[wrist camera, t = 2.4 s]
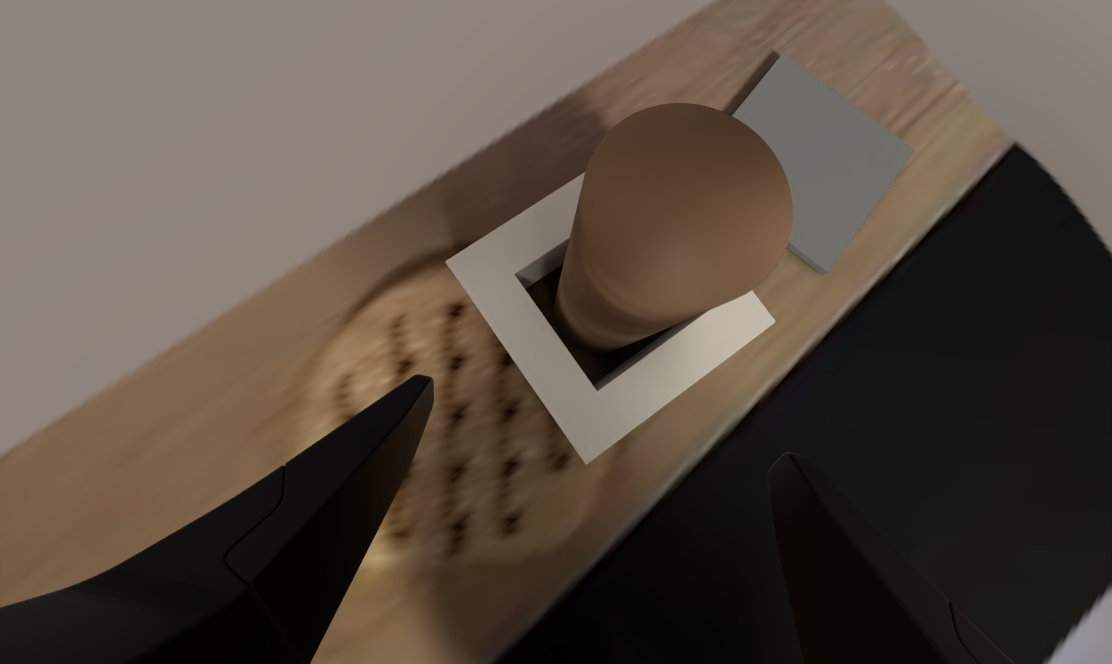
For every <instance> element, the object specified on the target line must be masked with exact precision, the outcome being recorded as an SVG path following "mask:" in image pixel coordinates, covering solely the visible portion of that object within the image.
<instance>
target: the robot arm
mask: <svg viewBox="0 0 1112 664" xmlns="http://www.w3.org/2000/svg"><path fill="white" fill-rule="evenodd" d="M433 402H434V382H433V378H431V377H429V376H424V375H419V374H417V375H414V376H413V377H411V378H410V379H408V380H407V381H405V382H404V383H402V384H401V385H399V386H398V387H397V388H395V389H394V390H392V391H391V392H389V393H388V394H386V395H385V396H383V397H382V398H380V399H379V400H377V401H376V402H375V403H373V404H372V405H370V406H369V407H367V408H366V409H364V410H363V411H361V412H360V413H358V414H357V415H355V416H354V417H353V418H351V419H350V420H348V421H347V422H345V423H344V424H342V425H341V426H339V427H338V428H336V429H335V430H333V431H332V432H331V433H329V434H328V435H326V436H325V437H323V438H322V439H320V440H319V441H317V442H316V443H314V444H313V445H312V446H310V447H309V448H307V449H306V450H304V451H303V452H301V453H300V454H298V455H297V456H295V457H294V458H292V459H291V460H290V461H288V462H287V463H286V464H285V466H280V467H279V468H278V469H276V470H275V471H273V472H272V473H270V474H269V475H267V476H266V477H264V478H263V479H261V480H260V481H258V482H257V483H255V484H254V485H252V486H251V487H249V488H247V489H246V490H244V491H243V492H241V493H240V494H238V495H237V496H235V497H233V498H232V499H230V500H228V501H227V502H225V503H223V504H222V505H220V506H218V507H217V508H215V509H213V510H212V511H210V512H208V513H207V514H205V515H203V516H202V517H200V518H198V519H196V520H195V521H193V522H191V523H189V524H188V525H186V526H184V527H183V528H181V529H179V530H177V531H176V532H174V533H172V534H170V535H169V536H167V537H165V538H164V539H162V540H160V541H158V542H157V543H155V544H153V545H151V546H150V547H148V548H146V549H145V550H143V551H141V552H139V553H138V554H136V555H134V556H132V557H131V558H129V559H127V560H125V561H124V562H122V563H120V564H118V565H116V566H114V567H113V568H111V569H109V570H107V571H105V572H102V573H100V574H98V575H96V576H94V577H92V578H89V579H87V580H85V581H82V582H80V583H78V584H75V585H72V586H70V587H67V588H64V589H61V590H58V591H55V592H51V593H48V594H45V595H41V596H38V597H35V598H31V599H28V600H24V601H21V602H18V603H14V604H11V605H7V606H4V607H1V608H0V664H310V663H311V661H312V659H313V657H314V655H315V653H316V651H317V649H318V647H319V645H320V643H321V641H322V639H323V637H324V635H325V633H326V631H327V629H328V627H329V625H330V623H331V621H332V619H333V617H334V615H335V613H336V612H337V610H338V608H339V606H340V604H341V602H342V600H343V598H344V596H345V594H346V592H347V590H348V588H349V586H350V584H351V582H352V580H353V578H354V576H355V574H356V572H357V570H358V568H359V566H360V564H361V562H362V560H363V558H364V556H365V554H366V552H367V551H368V549H369V547H370V545H371V543H372V541H373V539H374V537H375V535H376V533H377V531H378V529H379V527H380V525H381V523H382V521H383V519H384V517H385V515H386V513H387V511H388V509H389V507H390V505H391V503H392V501H393V499H394V497H395V495H396V493H397V492H398V490H399V488H400V486H401V484H402V482H403V480H404V478H405V476H406V474H407V472H408V470H409V468H410V465H411V463H412V461H413V458H414V456H415V453H416V450H417V448H418V445H419V442H420V440H421V437H422V434H423V431H424V429H425V426H426V423H427V421H428V418H429V415H430V413H431V410H432V407H433ZM767 483H768V490H769V498H770V505H771V513H772V520H773V528H774V534H775V540H776V545H777V549H778V553H779V558H780V562H781V566H782V570H783V574H784V579H785V583H786V587H787V591H788V595H789V600H790V604H791V608H792V612H793V616H794V620H795V625H796V629H797V633H798V637H799V641H800V646H801V650H802V654H803V658H804V662H805V664H1014V663H1013V662H1012V661H1011V660H1010V659H1009V658H1008V657H1006V656H1005V655H1004V654H1003V653H1002V652H1001V651H1000V650H999V649H998V648H997V647H996V646H995V645H994V644H993V643H992V642H991V641H990V640H989V639H988V638H987V637H986V636H985V635H984V634H983V633H982V632H980V631H979V630H978V629H977V628H976V627H975V626H974V625H973V624H972V623H971V622H970V621H969V620H968V619H967V618H966V617H965V616H964V615H963V614H962V613H961V612H960V611H959V610H958V609H957V608H956V607H955V606H954V605H953V604H952V603H951V602H948V599H947V598H946V597H945V596H944V595H943V594H942V593H941V592H940V591H939V590H938V589H937V588H936V587H935V586H934V585H933V584H932V583H931V582H930V581H929V580H928V579H927V578H926V577H925V576H924V575H923V574H922V573H921V572H920V571H919V570H918V569H917V568H916V567H915V566H914V565H913V564H912V563H911V562H910V561H909V560H908V559H907V558H906V557H905V556H904V555H903V554H902V553H901V552H900V551H899V550H898V549H897V548H896V547H895V546H894V545H893V544H892V543H891V542H890V541H889V540H888V539H887V538H886V537H885V536H884V535H883V534H882V533H881V532H880V531H879V530H878V529H877V528H876V527H875V526H874V525H873V524H872V523H871V522H870V521H869V520H868V519H867V518H866V517H865V516H864V515H863V514H862V513H861V512H860V511H859V510H858V509H857V508H856V507H855V506H854V505H853V504H852V503H851V502H850V501H849V500H848V499H847V498H846V497H845V496H844V495H843V494H842V493H841V492H840V491H839V490H838V489H837V488H836V487H835V486H834V485H833V484H832V483H831V482H830V481H829V480H828V479H827V478H826V477H825V476H824V475H823V474H822V473H821V472H820V471H819V470H818V469H817V468H816V467H815V466H814V465H813V464H812V463H811V462H810V461H809V460H808V459H807V458H805V457H804V456H802V455H799V454H794V453H790V452H786V453H784V454H782V455H781V457H780V458H779V459H778V460H777V461H776V462H775V463H774V465H773V466H772V467H771V468H770V469H769V471H768V474H767ZM556 657H560V658H561V659H562V660H561V661H560V662H559V663H556V662H554V661H553V659H554V658H556ZM540 664H581V663H580V662H579V661H578V660H577V659H575V658H574V657H573V656H572V655H571V654H570V653H568V652H567V651H566V650H565V649H564V648H562V647H560V646H555V647H553V648H552V649H550V650H549V652H548V653H547V655H546V656H545V657H544V659H543V660H542V662H541V663H540Z"/></svg>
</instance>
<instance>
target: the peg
mask: <svg viewBox="0 0 1112 664" xmlns="http://www.w3.org/2000/svg"><path fill="white" fill-rule="evenodd" d="M792 222H793V203H792V195H791V190H790V187H789V183H788V180H787V177H786V175H785V172H784V170H783V167H782V166H781V164H780V162H779V160H778V158H777V157H776V155H775V154H774V152H773V151H772V150H771V148H770V147H769V146H768V144H767V143H766V142H765V141H764V140H763V139H762V138H761V137H760V136H759V135H758V134H757V133H756V132H755V131H753V130H752V129H751V128H750V127H749V126H747V125H746V124H744V123H743V122H741V121H740V120H738V119H736V118H735V117H733V116H731V115H729V114H727V113H725V112H722V111H719V110H716V109H714V108H710V107H706V106H702V105H696V104H688V103H672V104H664V105H658V106H654V107H650V108H646V109H644V110H641V111H639V112H636V113H634V114H633V115H631V116H629V117H627V118H625V119H624V120H622V121H621V122H620V123H618V124H617V125H616V126H614V127H613V128H612V129H611V130H610V131H609V132H608V133H607V134H606V135H605V136H604V137H603V139H602V140H601V141H600V143H599V144H598V145H597V147H596V149H595V150H594V152H593V154H592V156H591V158H590V160H589V163H588V165H587V168H586V171H585V175H584V179H583V183H582V188H581V192H580V196H579V200H578V205H577V209H576V213H575V217H574V221H573V226H572V230H571V234H570V238H569V243H568V247H567V251H566V255H565V260H564V264H563V268H562V272H561V277H560V281H559V285H558V289H557V293H556V298H555V303H554V314H555V319H556V322H557V325H558V327H559V329H560V331H561V333H562V334H563V336H564V337H565V338H566V339H567V340H568V341H569V342H570V343H571V344H573V345H574V346H576V347H578V348H579V349H582V350H584V351H587V352H592V353H607V352H611V351H614V350H617V349H619V348H622V347H624V346H626V345H629V344H631V343H633V342H636V341H638V340H641V339H643V338H645V337H648V336H650V335H652V334H655V333H657V332H659V331H662V330H664V329H666V328H669V327H671V326H674V325H676V324H678V323H681V322H683V321H685V320H688V319H690V318H692V317H695V316H697V315H699V314H702V313H704V312H706V311H709V310H711V309H714V308H716V307H718V306H721V305H723V304H725V303H728V302H730V301H732V300H735V299H737V298H739V297H741V296H743V295H745V294H747V293H748V292H750V291H751V290H753V289H754V288H756V287H757V286H758V285H759V284H761V283H762V282H763V281H764V280H765V279H766V278H767V277H768V276H769V275H770V274H771V272H772V271H773V270H774V269H775V268H776V266H777V264H778V263H779V261H780V260H781V258H782V256H783V254H784V252H785V249H786V247H787V245H788V241H789V238H790V234H791V229H792Z"/></svg>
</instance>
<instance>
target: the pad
mask: <svg viewBox="0 0 1112 664" xmlns="http://www.w3.org/2000/svg"><path fill="white" fill-rule="evenodd" d="M732 116H733V117H735V118H736V119H738V120H740V121H741V122H743V123H744V124H746V125H747V126H749V127H750V128H751V129H752V130H753V131H755V132H756V133H757V134H758V135H759V136H760V137H761V138H762V139H763V140H764V141H765V142H766V143H767V144H768V146H769V147H770V148H771V150H772V151H773V152H774V154H775V155H776V157H777V158H778V160H779V162H780V164H781V166H782V167H783V170H784V172H785V175H786V177H787V180H788V183H789V187H790V190H791V195H792V203H793V222H792V229H791V234H790V238H789V241H788V245H787V247H786V248H788V249H789V250H790V251H791V252H793V253H794V254H795V255H797V256H798V257H799V258H801V259H802V260H803V261H804V262H806V263H807V264H808V265H810V266H811V267H812V268H813V269H815V270H816V271H817V272H819V273H820V274H821V275H823V274H826V273H828V272H829V271H830V270H831V268H832V267H833V265H834V264H835V263H836V261H837V260H838V258H839V257H840V255H841V254H842V253H843V251H844V250H845V248H846V247H847V246H848V244H849V243H850V241H851V240H852V238H853V237H854V236H855V234H856V233H857V231H858V230H859V229H860V227H861V226H862V224H863V223H864V222H865V220H866V219H867V217H868V216H869V214H870V213H871V212H872V210H873V209H874V207H875V206H876V205H877V203H878V202H879V200H880V199H881V197H882V196H883V195H884V193H885V192H886V190H887V189H888V188H889V186H890V185H891V183H892V182H893V181H894V179H895V178H896V176H897V175H898V173H899V172H900V171H901V169H902V168H903V166H904V165H905V164H906V162H907V161H908V159H909V158H910V156H911V155H912V154H913V152H914V151H915V150H914V149H912V148H911V147H910V146H908V145H907V144H906V143H904V142H903V141H902V140H900V139H899V138H898V137H896V136H895V135H893V134H892V133H891V132H889V131H888V130H887V129H885V128H884V127H883V126H881V125H880V124H879V123H877V122H876V121H875V120H873V119H872V118H871V117H869V116H868V115H867V114H865V113H864V112H863V111H861V110H860V109H859V108H857V107H856V106H855V105H853V104H852V103H851V102H849V101H848V100H847V99H845V98H844V97H842V96H841V95H840V94H838V93H837V92H836V91H834V90H833V89H832V88H830V87H829V86H828V85H826V84H825V83H824V82H822V81H821V80H820V79H818V78H817V77H816V76H814V75H813V74H812V73H810V72H809V71H808V70H806V69H805V68H804V67H802V66H801V65H800V64H798V63H797V62H795V61H794V60H793V59H791V58H790V57H789V56H787V55H786V54H785V53H783V54H782V55H781V56H780V58H779V59H778V60H777V61H776V63H775V64H774V65H773V66H772V67H771V69H770V70H769V71H768V72H767V74H766V75H765V76H764V77H763V79H762V80H761V81H760V82H759V83H758V85H757V86H756V87H755V88H754V90H753V91H752V92H751V93H750V94H749V96H748V97H747V98H746V99H745V101H744V102H743V103H742V104H741V106H740V107H739V108H738V109H737V110H736V112H735V113H734V114H733V115H732Z"/></svg>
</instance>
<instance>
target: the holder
mask: <svg viewBox="0 0 1112 664" xmlns="http://www.w3.org/2000/svg"><path fill="white" fill-rule="evenodd" d="M584 175H585V172H584V173H583V174H581V175H580V176H578V177H576V178H575V179H573V180H572V181H570V182H569V183H567V184H565V185H564V186H562V187H561V188H559V189H558V190H556V191H554V192H553V193H551V194H550V195H548V196H547V197H545V198H544V199H542V200H540V201H539V202H537V203H536V204H534V205H533V206H531V207H529V208H528V209H526V210H525V211H523V212H522V213H520V214H519V215H517V216H515V217H514V218H512V219H511V220H509V221H508V222H506V223H504V224H503V225H501V226H500V227H498V228H497V229H495V230H494V231H492V232H490V233H489V234H487V235H486V236H484V237H483V238H481V239H479V240H478V241H476V242H475V243H473V244H472V245H470V246H468V247H467V248H465V249H464V250H462V251H461V252H459V253H458V254H456V255H454V256H453V257H451V258H450V259H448V260H447V261H445V262H446V264H447V265H448V267H449V268H450V269H451V271H452V272H453V274H454V275H455V277H456V278H457V280H458V281H459V282H460V284H461V285H462V287H463V288H464V290H465V291H466V293H467V294H468V295H469V297H470V298H471V300H472V301H473V303H474V304H475V306H476V307H477V308H478V310H479V311H480V313H481V314H482V316H483V317H484V319H485V320H486V321H487V323H488V324H489V326H490V327H491V329H492V330H493V332H494V333H495V334H496V336H497V337H498V339H499V340H500V342H501V343H502V345H503V346H504V347H505V349H506V350H507V352H508V353H509V355H510V356H511V358H512V359H513V360H514V362H515V363H516V365H517V366H518V368H519V369H520V370H521V372H522V373H523V375H524V376H525V378H526V379H527V381H528V382H529V383H530V385H531V386H532V388H533V389H534V391H535V392H536V394H537V395H538V396H539V398H540V399H541V401H542V402H543V404H544V405H545V407H546V408H547V409H548V411H549V412H550V414H551V415H552V417H553V418H554V420H555V421H556V422H557V424H558V425H559V427H560V428H561V430H562V431H563V433H564V434H565V435H566V437H567V438H568V440H569V441H570V443H571V444H572V446H573V447H574V448H575V450H576V451H577V453H578V454H579V456H580V457H581V459H582V460H583V461H584V463H585V464H586V465H587V464H588V463H589V462H591V461H592V460H593V459H595V458H596V457H597V456H599V455H600V454H601V453H603V452H604V451H605V450H607V449H608V448H609V447H611V446H612V445H613V444H615V443H616V442H617V441H619V440H620V439H621V438H623V437H624V436H625V435H626V434H628V433H629V432H630V431H632V430H633V429H634V428H636V427H637V426H638V425H640V424H641V423H642V422H644V421H645V420H646V419H648V418H649V417H650V416H652V415H653V414H654V413H656V412H657V411H658V410H660V409H661V408H662V407H664V406H665V405H666V404H668V403H669V402H670V401H672V400H673V399H674V398H676V397H677V396H678V395H680V394H681V393H682V392H684V391H685V390H686V389H688V388H689V387H690V386H692V385H693V384H694V383H695V382H697V381H698V380H699V379H701V378H702V377H703V376H705V375H706V374H707V373H709V372H710V371H711V370H713V369H714V368H715V367H717V366H718V365H719V364H721V363H722V362H723V361H725V360H726V359H727V358H729V357H730V356H731V355H733V354H734V353H735V352H737V351H738V350H739V349H741V348H742V347H743V346H745V345H746V344H747V343H749V342H750V341H751V340H753V339H754V338H755V337H757V336H758V335H759V334H761V333H762V332H763V331H764V330H766V329H767V328H768V327H770V326H771V325H772V324H774V323H775V322H776V321H775V320H774V319H773V317H772V316H771V315H770V313H769V312H768V311H767V310H766V308H765V307H764V306H763V304H762V303H761V302H760V300H759V299H758V298H757V296H756V295H755V294H754V292H753V291H752V290H751V291H750V292H748V293H747V294H745V295H743V296H741V297H739V298H737V299H735V300H732V301H730V302H728V303H725V304H723V305H721V306H718V307H716V308H714V309H711V310H709V311H706V312H704V313H702V314H699V315H697V316H695V317H692V318H690V319H688V320H685V321H683V322H681V323H678V324H676V325H675V326H674V327H672V328H671V329H669V330H668V331H667V332H665V333H664V334H663V335H661V336H660V337H658V338H657V339H656V340H654V341H653V342H652V343H650V344H649V345H647V346H646V347H645V348H643V349H642V350H640V351H639V352H638V353H636V354H635V355H634V356H632V357H631V358H629V359H628V360H627V361H625V362H624V363H623V364H621V365H620V366H618V367H617V368H616V369H614V370H613V371H611V372H610V373H609V374H607V375H606V376H605V377H603V378H602V379H600V380H599V381H598V382H596V383H595V384H594V385H592V383H591V382H590V381H589V379H588V378H587V376H586V375H585V373H584V372H583V371H582V369H581V368H580V366H579V365H578V364H577V362H576V361H575V359H574V358H573V357H572V355H571V354H570V352H569V351H568V349H567V348H566V347H565V345H564V344H563V342H562V341H561V340H560V338H559V337H558V335H557V334H556V333H555V331H554V330H553V328H552V327H551V325H550V324H549V323H548V321H547V320H546V318H545V317H544V316H543V314H542V313H541V311H540V310H539V308H538V307H537V306H536V304H535V303H534V301H533V300H532V299H531V297H530V296H529V294H528V293H527V292H526V290H525V289H526V288H528V287H529V286H531V285H532V284H534V283H535V282H537V281H538V280H540V279H541V278H543V277H544V276H546V275H547V274H549V273H550V272H552V271H553V270H555V269H556V268H558V267H559V266H561V265H562V264H564V260H565V255H566V251H567V247H568V243H569V238H570V234H571V230H572V226H573V221H574V217H575V213H576V209H577V205H578V200H579V196H580V192H581V188H582V183H583V179H584Z"/></svg>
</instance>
